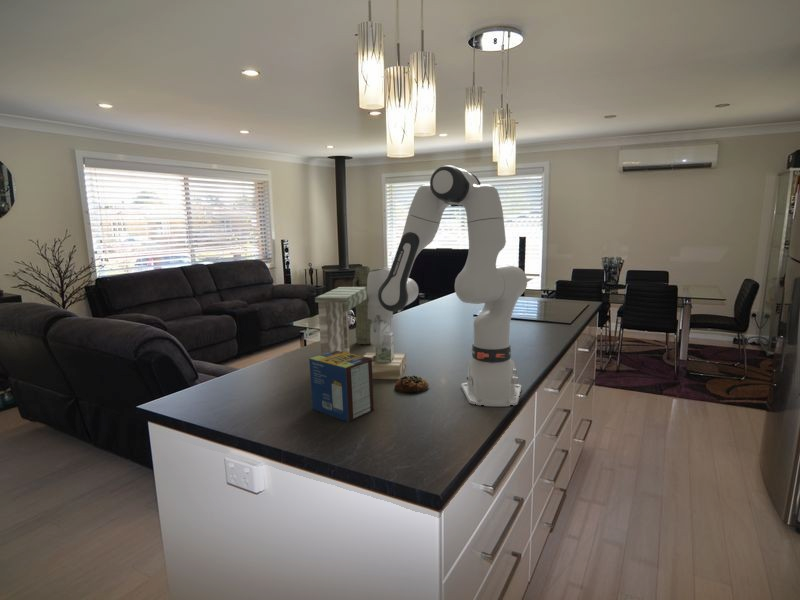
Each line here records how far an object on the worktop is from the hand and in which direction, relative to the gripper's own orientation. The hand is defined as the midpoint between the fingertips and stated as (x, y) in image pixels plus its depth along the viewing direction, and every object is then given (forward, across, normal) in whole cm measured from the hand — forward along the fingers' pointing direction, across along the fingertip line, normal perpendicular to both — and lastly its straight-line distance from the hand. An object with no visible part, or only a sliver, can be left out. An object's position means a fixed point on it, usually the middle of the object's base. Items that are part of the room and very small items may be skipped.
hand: (381, 350), depth 162 cm
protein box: (+8, -35, +5) cm, 36 cm away
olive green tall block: (+8, +42, +16) cm, 46 cm away
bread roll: (+8, -16, -13) cm, 22 cm away
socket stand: (+8, 0, +6) cm, 10 cm away
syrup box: (+8, 0, -1) cm, 8 cm away
